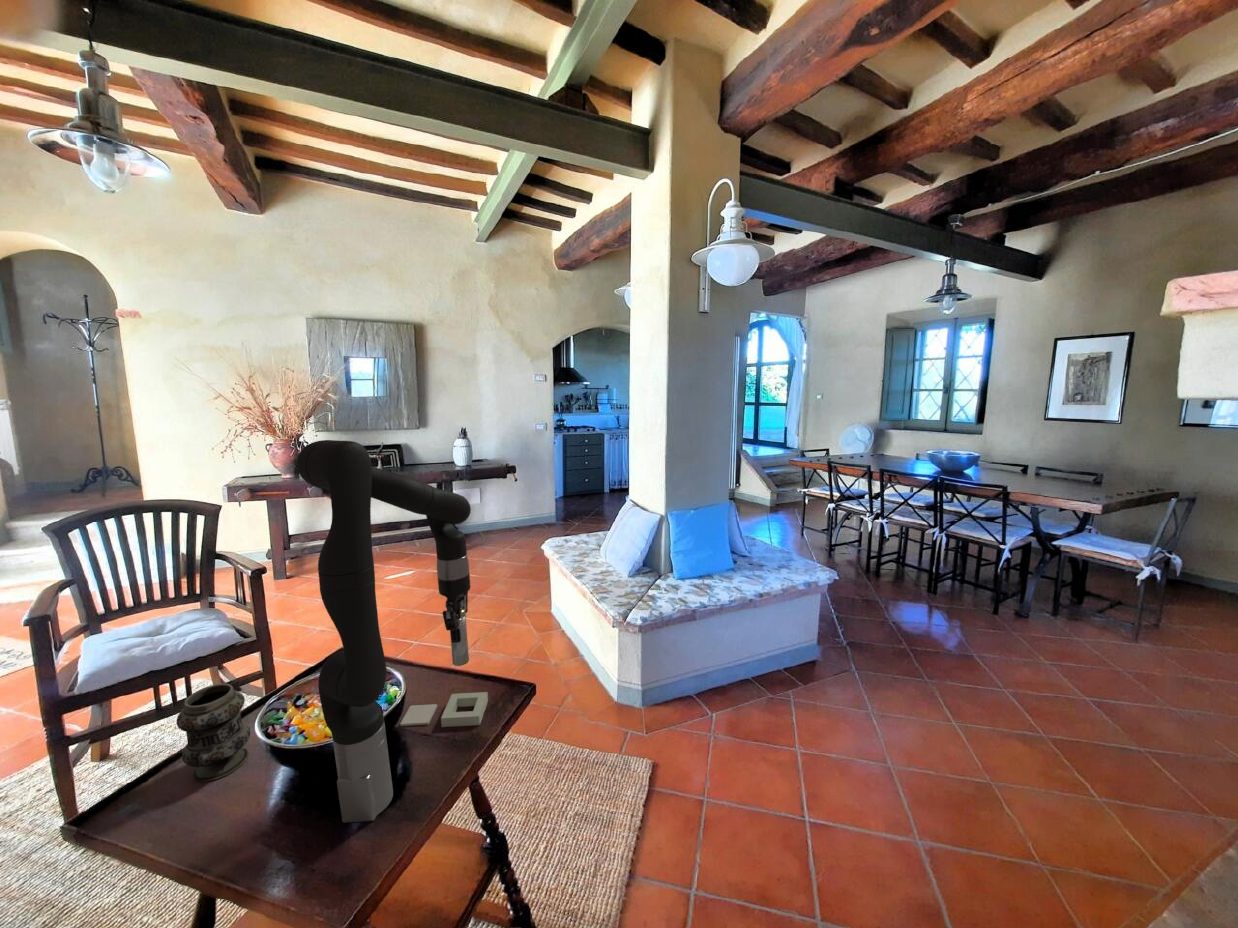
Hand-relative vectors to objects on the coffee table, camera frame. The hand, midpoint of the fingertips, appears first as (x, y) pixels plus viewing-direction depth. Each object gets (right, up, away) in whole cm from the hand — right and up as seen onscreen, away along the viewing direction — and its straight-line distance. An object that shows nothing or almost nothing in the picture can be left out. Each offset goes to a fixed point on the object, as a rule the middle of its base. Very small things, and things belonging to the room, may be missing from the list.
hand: (458, 636), depth 122 cm
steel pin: (0, -7, +1) cm, 7 cm away
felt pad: (-11, -22, +3) cm, 25 cm away
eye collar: (+1, -21, +4) cm, 22 cm away
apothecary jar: (-51, -26, -11) cm, 58 cm away
